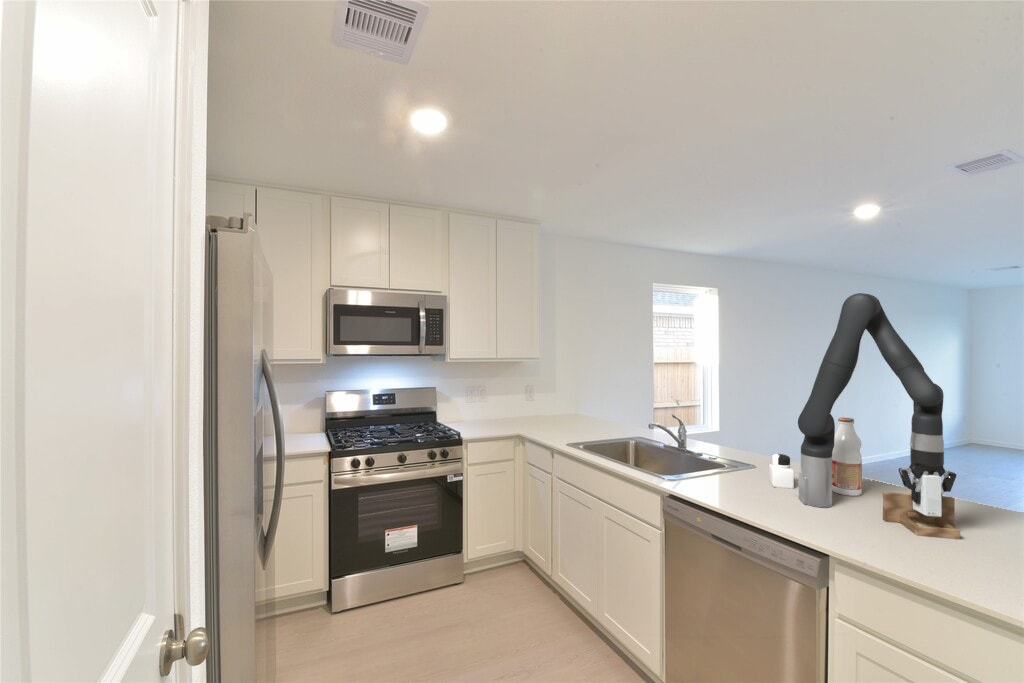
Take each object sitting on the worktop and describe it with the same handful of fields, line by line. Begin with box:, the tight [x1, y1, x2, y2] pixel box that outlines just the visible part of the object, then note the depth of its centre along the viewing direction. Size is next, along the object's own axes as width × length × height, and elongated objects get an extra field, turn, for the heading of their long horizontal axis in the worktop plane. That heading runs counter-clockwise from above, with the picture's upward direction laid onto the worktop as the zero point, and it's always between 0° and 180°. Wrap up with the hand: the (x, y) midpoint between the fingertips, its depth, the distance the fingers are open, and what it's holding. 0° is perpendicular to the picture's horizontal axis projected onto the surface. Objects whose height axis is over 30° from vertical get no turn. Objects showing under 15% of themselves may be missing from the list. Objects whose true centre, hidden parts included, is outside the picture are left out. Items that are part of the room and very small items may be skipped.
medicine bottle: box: [768, 453, 795, 490], centre depth 177 cm, size 7×7×12 cm
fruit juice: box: [832, 416, 863, 497], centre depth 169 cm, size 9×9×28 cm
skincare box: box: [912, 474, 942, 517], centre depth 136 cm, size 6×4×12 cm
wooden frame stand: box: [882, 491, 961, 540], centre depth 136 cm, size 18×11×9 cm, turn 75°
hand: (926, 503), depth 136 cm, fingers closed on skincare box, 4 cm apart
